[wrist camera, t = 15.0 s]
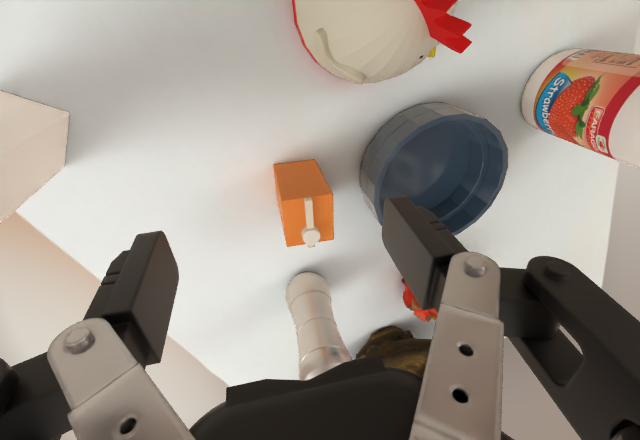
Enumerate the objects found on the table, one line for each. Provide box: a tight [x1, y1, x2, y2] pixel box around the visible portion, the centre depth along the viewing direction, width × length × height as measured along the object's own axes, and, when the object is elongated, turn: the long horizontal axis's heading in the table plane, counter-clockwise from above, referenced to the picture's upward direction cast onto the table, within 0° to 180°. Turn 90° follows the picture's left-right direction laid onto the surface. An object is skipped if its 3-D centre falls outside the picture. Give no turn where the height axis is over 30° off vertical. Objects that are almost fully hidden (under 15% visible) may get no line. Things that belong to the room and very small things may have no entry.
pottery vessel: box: [355, 326, 432, 377], centre depth 53 cm, size 25×11×20 cm, turn 118°
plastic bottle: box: [286, 272, 352, 380], centre depth 41 cm, size 6×7×20 cm
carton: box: [273, 160, 334, 248], centre depth 36 cm, size 6×5×10 cm
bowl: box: [360, 102, 508, 235], centre depth 40 cm, size 16×16×6 cm
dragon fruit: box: [402, 278, 438, 322], centre depth 51 cm, size 8×8×12 cm
